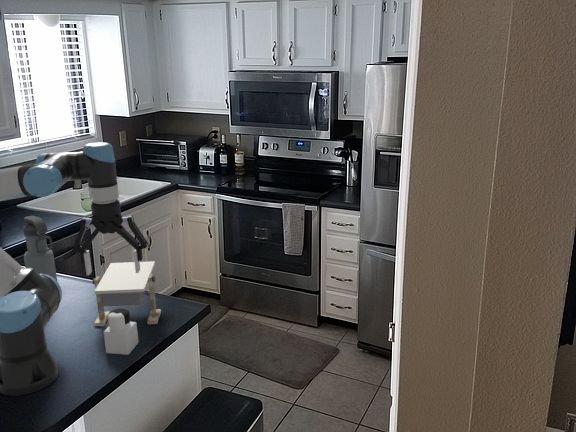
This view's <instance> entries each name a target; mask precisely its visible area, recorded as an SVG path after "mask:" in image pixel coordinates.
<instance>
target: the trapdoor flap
mask: <svg viewBox="0 0 576 432" xmlns="http://www.w3.org/2000/svg"><path fill="white" fill-rule="evenodd" d="M155 265H156V261H154V260H153V261H140V271H139V273H136V270H135V261H131V262H130V261H128V262H125V261H124V262H111V263H109V266H108V267H107V269H106V271H105V272H104V274H103V276H102V277H101V278H100V282H99V284H98V286H97V288H96V289H94V295H96V294H100V298H101V305H102V306H104V307H120V306H121V307H123V306H141V305H142V302H143V300H144V295H145V294H144V293H145V291H146V288H147V287H148V285H149V283H148V277H149V275H150V274H153V270H154V268H155Z"/></svg>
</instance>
